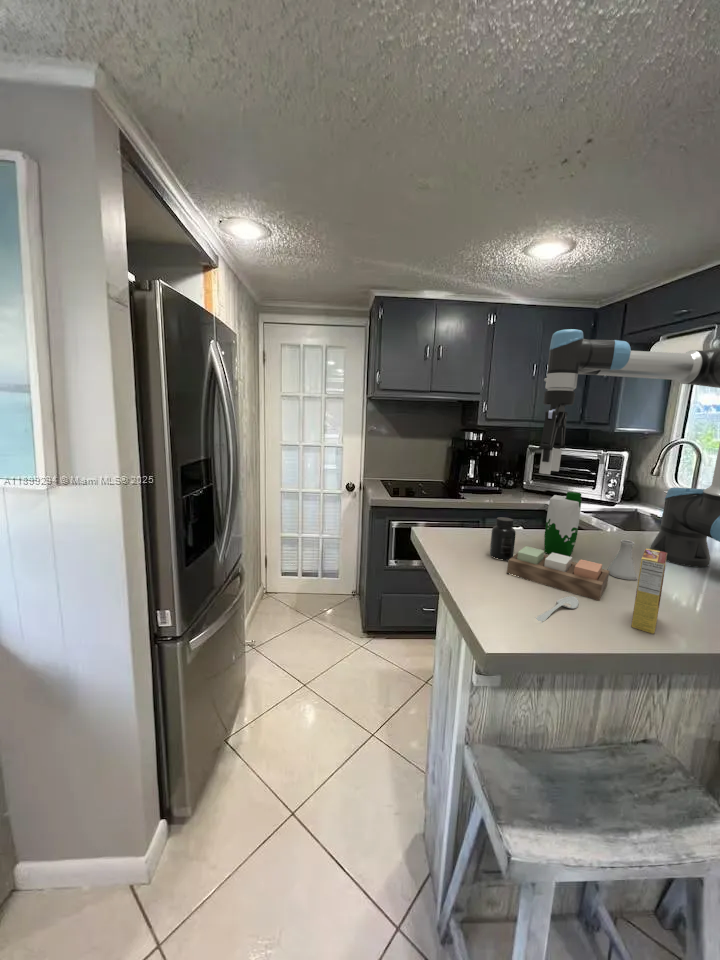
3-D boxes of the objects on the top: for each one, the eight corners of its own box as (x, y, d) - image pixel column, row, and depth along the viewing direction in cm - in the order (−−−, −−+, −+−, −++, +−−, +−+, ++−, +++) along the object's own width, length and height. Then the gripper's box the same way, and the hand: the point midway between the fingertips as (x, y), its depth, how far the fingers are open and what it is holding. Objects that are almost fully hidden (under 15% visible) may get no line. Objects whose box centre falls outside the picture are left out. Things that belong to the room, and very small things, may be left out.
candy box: (633, 611, 89) (645, 547, 86) (657, 618, 86) (669, 552, 84) (628, 626, 82) (641, 557, 80) (654, 635, 79) (667, 563, 77)
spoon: (583, 606, 91) (584, 600, 91) (536, 633, 79) (537, 625, 79) (565, 599, 95) (566, 592, 94) (517, 623, 82) (518, 616, 82)
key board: (607, 585, 103) (609, 570, 102) (599, 600, 94) (601, 584, 93) (521, 562, 116) (522, 549, 116) (506, 573, 107) (508, 559, 107)
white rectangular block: (570, 571, 106) (572, 557, 105) (564, 579, 100) (566, 564, 100) (550, 566, 109) (552, 552, 108) (543, 573, 104) (545, 558, 103)
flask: (642, 582, 106) (648, 547, 104) (612, 579, 107) (618, 544, 105) (629, 572, 113) (635, 538, 111) (602, 569, 114) (607, 536, 112)
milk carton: (571, 559, 120) (580, 496, 117) (540, 552, 125) (548, 491, 122) (575, 552, 127) (584, 492, 124) (545, 545, 133) (553, 487, 129)
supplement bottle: (515, 556, 121) (519, 518, 119) (510, 562, 116) (514, 523, 113) (492, 551, 125) (496, 514, 123) (486, 557, 119) (490, 519, 117)
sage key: (542, 564, 110) (544, 550, 109) (535, 571, 105) (537, 556, 104) (524, 559, 113) (526, 546, 113) (516, 565, 108) (518, 552, 107)
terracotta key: (600, 579, 101) (602, 564, 101) (595, 587, 96) (597, 572, 95) (578, 573, 105) (580, 559, 104) (572, 581, 99) (574, 566, 98)
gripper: (555, 392, 117) (545, 467, 121) (533, 387, 101) (523, 473, 105) (583, 393, 113) (572, 470, 117) (565, 387, 96) (553, 477, 100)
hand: (549, 472), depth 111 cm, fingers open, 9 cm apart
